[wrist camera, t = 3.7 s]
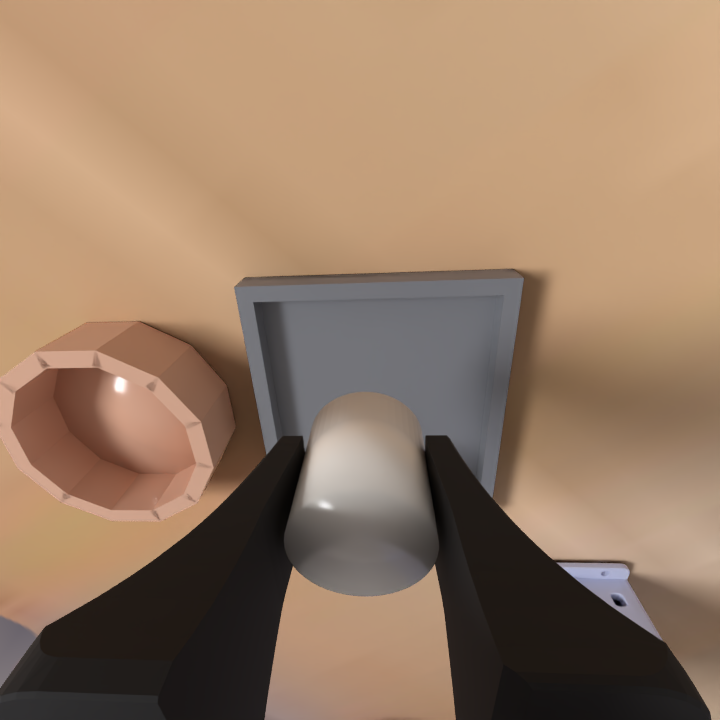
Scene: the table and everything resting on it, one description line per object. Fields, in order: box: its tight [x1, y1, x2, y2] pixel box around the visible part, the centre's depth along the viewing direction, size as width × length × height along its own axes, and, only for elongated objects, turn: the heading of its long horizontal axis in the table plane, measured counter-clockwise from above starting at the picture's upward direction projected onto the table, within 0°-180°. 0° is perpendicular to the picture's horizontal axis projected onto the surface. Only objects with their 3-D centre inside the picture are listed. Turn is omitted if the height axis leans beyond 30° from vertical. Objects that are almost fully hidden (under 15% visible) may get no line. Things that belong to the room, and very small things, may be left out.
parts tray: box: [234, 269, 524, 498], centre depth 20 cm, size 12×14×2 cm
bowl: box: [0, 321, 236, 521], centre depth 20 cm, size 10×10×3 cm
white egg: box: [284, 392, 439, 596], centre depth 11 cm, size 4×4×4 cm
